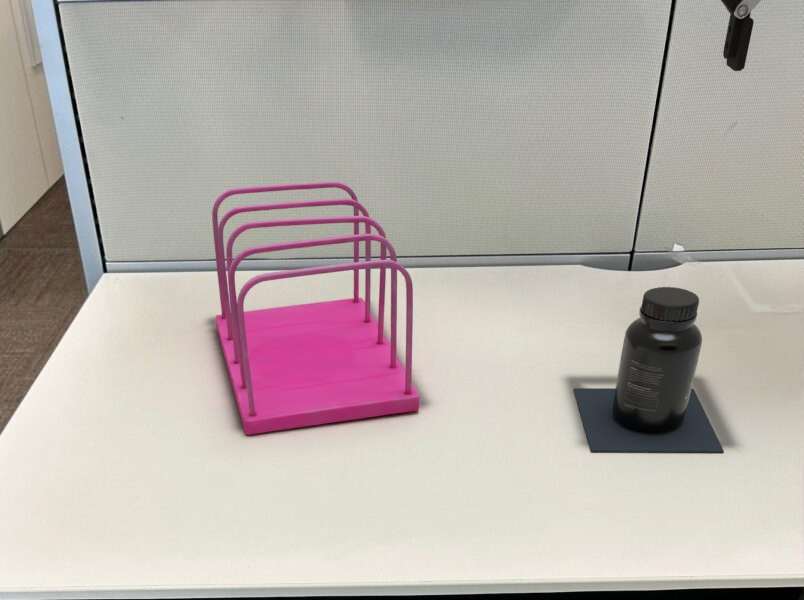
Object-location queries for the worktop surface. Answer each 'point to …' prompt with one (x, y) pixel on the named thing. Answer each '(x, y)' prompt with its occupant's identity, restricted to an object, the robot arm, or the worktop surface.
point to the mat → (618, 438)
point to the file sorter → (312, 330)
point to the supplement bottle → (658, 362)
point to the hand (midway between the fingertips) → (789, 65)
